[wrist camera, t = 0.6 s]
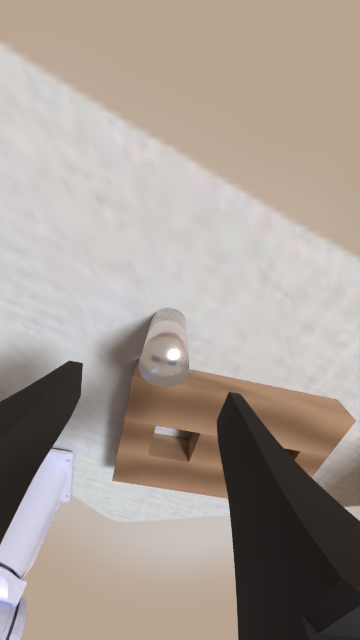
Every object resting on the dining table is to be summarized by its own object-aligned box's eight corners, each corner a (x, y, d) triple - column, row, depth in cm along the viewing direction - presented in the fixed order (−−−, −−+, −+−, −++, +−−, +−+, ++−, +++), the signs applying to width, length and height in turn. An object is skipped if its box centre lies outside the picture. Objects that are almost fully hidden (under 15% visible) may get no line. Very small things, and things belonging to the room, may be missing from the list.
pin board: (279, 483, 27) (287, 507, 25) (118, 457, 26) (112, 480, 23) (337, 399, 22) (356, 420, 19) (137, 358, 20) (132, 376, 18)
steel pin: (181, 343, 19) (182, 391, 14) (148, 336, 19) (134, 382, 14) (190, 312, 18) (194, 351, 13) (155, 304, 18) (143, 340, 12)
